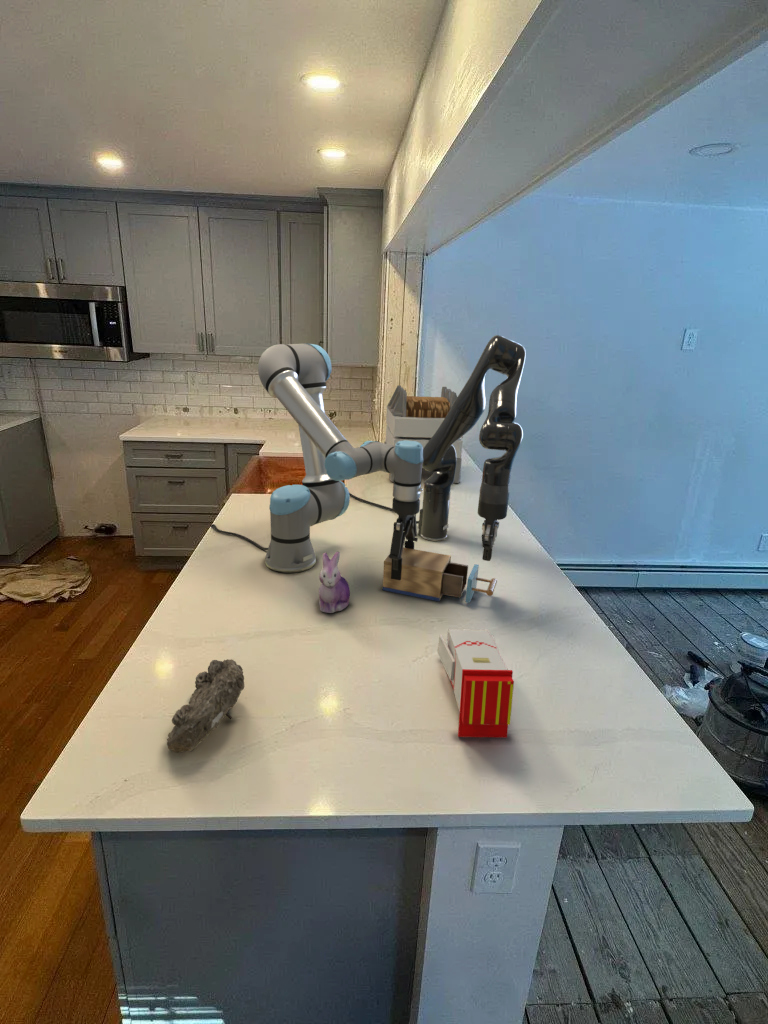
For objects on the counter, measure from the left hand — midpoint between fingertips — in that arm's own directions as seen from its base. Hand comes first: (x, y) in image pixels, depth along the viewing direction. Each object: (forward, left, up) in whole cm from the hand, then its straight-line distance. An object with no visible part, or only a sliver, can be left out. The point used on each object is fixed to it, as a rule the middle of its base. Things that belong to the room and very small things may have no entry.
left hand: (402, 570), depth 162 cm
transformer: (-27, +116, -4) cm, 119 cm away
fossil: (-17, -68, -4) cm, 70 cm away
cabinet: (+4, 0, -4) cm, 6 cm away
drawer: (+16, 0, -3) cm, 16 cm away
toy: (+28, -41, -4) cm, 50 cm away
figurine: (-13, -19, -4) cm, 24 cm away
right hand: (+23, 0, +8) cm, 25 cm away
